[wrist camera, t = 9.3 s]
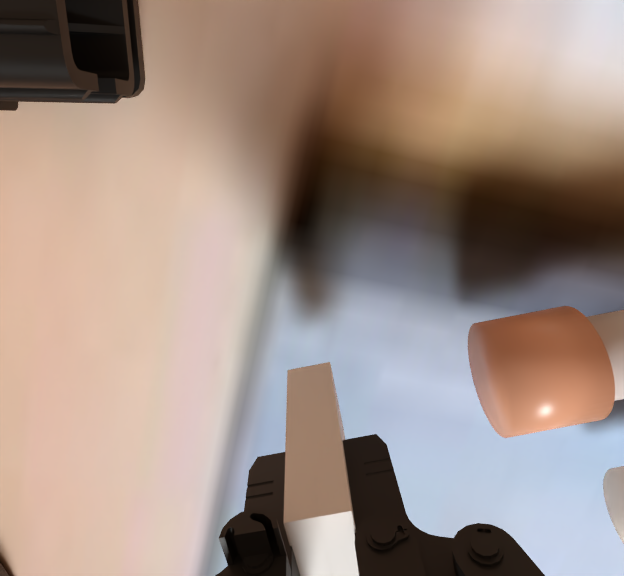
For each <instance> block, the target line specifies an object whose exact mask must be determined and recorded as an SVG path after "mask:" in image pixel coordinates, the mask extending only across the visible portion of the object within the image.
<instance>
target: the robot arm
mask: <svg viewBox="0 0 624 576" xmlns="http://www.w3.org/2000/svg"><path fill="white" fill-rule="evenodd" d="M247 486H248V488H247V492H246V500H245V508H244V512H241V513H239V514H238V515H236V516H235V517H233V518H232V519H230V520H229V522H228V523H227V524H226V525H225V526H224V527H223V529H222V532H221V534H220V537H219V540H220V543H221V546H222V549H223V552H224V554H225V557H226V560H227V563H228V566H227V567H226V568H225V569H224V570H223V571H222V572H220V573H219V574H217V575H216V576H545V575H544V574H543V573H542V572H541V570H540V569H539V568H538V567H537V566H536V565H535V563H534V562H533V561H532V560H531V559H530V557H529V556H528V555H527V554H526V553H525V552H524V550H523V549H522V548H521V547H520V546H519V545H518V543H517V542H516V541H515V540H514V539H513V538H512V537H511V536H510V535H509V534H508V533H506V532H505V531H504V530H503V529H500V528H498V527H495V526H493V525H490V524H480V523H477V524H473V525H468V526H466V527H464V528H463V529H461V530H460V531H458V532H457V534H456V536H455V537H454V538H447V537H439V536H434V535H430V534H427V533H425V532H423V531H421V530H419V529H418V528H417V527H415V526H414V525H413V524H412V523H411V521H410V520H409V519H408V516H407V514H406V512H405V508H404V505H403V501H402V498H401V494H400V491H399V487H398V483H397V480H396V476H395V473H394V470H393V466H392V462H391V459H390V455H389V452H388V448H387V445H386V444H385V443H384V442H383V441H382V440H381V439H380V438H379V437H378V436H377V435H376V434H374V435H369V436H363V437H358V438H352V439H347V440H345V435H344V429H343V424H342V419H341V414H340V409H339V404H338V399H337V394H336V389H335V384H334V379H333V375H332V370H331V365H330V362H328V363H323V364H318V365H312V366H307V367H302V368H296V369H291V370H288V377H287V413H286V450H285V452H283V453H277V454H272V455H266V456H261V457H257V459H256V461H255V462H254V464H253V466H252V467H251V469H250V470H249V476H248V484H247ZM0 576H9V575H8V573H7V572H6V570H5V569H4V567H3V566H2V564H1V563H0Z"/></svg>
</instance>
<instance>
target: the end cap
mask: <svg viewBox="0 0 624 576" xmlns="http://www.w3.org/2000/svg"><path fill="white" fill-rule="evenodd" d="M144 84H145V74H144V63H143V52H142V42H141V31H140V20H139V9H138V0H0V110H13V111H14V110H16V109H17V108H18V101H24V102H71V103H117V102H118V101H119V100H120V99H121V98H130V97H134V96H138V95H139V94H140V93H141V91H142V90H143V89H144Z"/></svg>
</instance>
